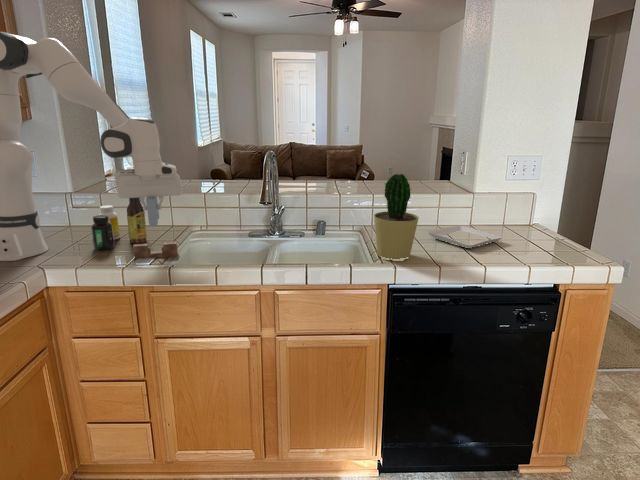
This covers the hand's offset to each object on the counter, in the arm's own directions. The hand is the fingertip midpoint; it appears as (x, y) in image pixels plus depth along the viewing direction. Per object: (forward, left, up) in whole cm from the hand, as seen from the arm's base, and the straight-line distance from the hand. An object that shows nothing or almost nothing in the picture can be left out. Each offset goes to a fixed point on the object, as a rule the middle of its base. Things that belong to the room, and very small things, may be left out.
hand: (153, 209), depth 146 cm
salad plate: (+117, -8, -17) cm, 118 cm away
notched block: (0, 0, -17) cm, 17 cm away
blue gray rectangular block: (0, 0, -4) cm, 4 cm away
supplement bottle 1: (-19, +27, -17) cm, 37 cm away
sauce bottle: (-8, +20, -17) cm, 27 cm away
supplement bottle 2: (-19, +14, -17) cm, 29 cm away
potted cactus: (+81, -19, -17) cm, 85 cm away
